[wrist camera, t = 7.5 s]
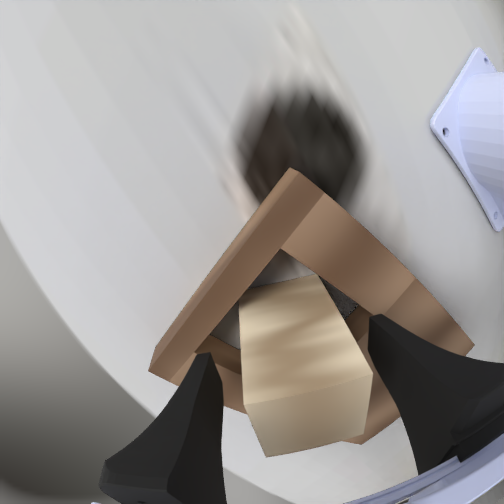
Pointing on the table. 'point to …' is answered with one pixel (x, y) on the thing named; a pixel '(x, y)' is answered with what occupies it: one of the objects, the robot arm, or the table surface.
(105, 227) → the table surface
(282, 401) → the maple peg
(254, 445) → the table surface
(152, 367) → the slotted walnut block
